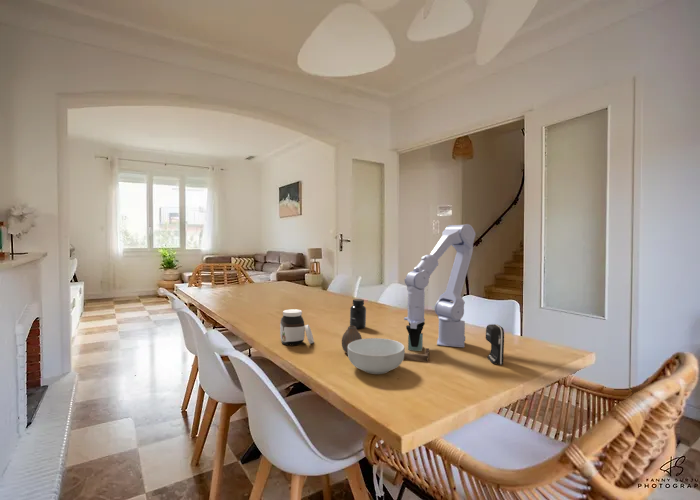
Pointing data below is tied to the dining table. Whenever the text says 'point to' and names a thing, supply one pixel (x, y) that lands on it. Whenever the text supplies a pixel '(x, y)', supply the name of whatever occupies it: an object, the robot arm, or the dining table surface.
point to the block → (418, 344)
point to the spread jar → (294, 328)
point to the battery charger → (495, 343)
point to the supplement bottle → (358, 314)
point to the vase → (350, 337)
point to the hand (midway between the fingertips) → (415, 344)
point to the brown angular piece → (417, 356)
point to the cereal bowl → (376, 354)
